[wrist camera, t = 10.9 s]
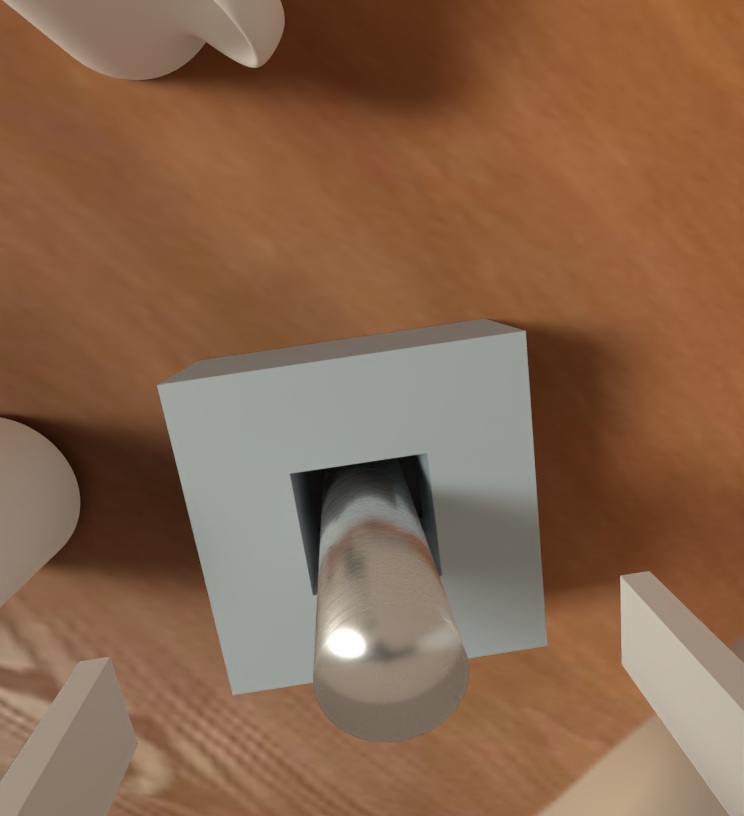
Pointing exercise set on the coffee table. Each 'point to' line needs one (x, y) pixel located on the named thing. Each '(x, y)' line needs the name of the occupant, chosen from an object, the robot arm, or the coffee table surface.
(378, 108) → the coffee table surface
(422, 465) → the socket block
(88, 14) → the mug
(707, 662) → the robot arm
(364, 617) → the peg
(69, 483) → the beverage can
